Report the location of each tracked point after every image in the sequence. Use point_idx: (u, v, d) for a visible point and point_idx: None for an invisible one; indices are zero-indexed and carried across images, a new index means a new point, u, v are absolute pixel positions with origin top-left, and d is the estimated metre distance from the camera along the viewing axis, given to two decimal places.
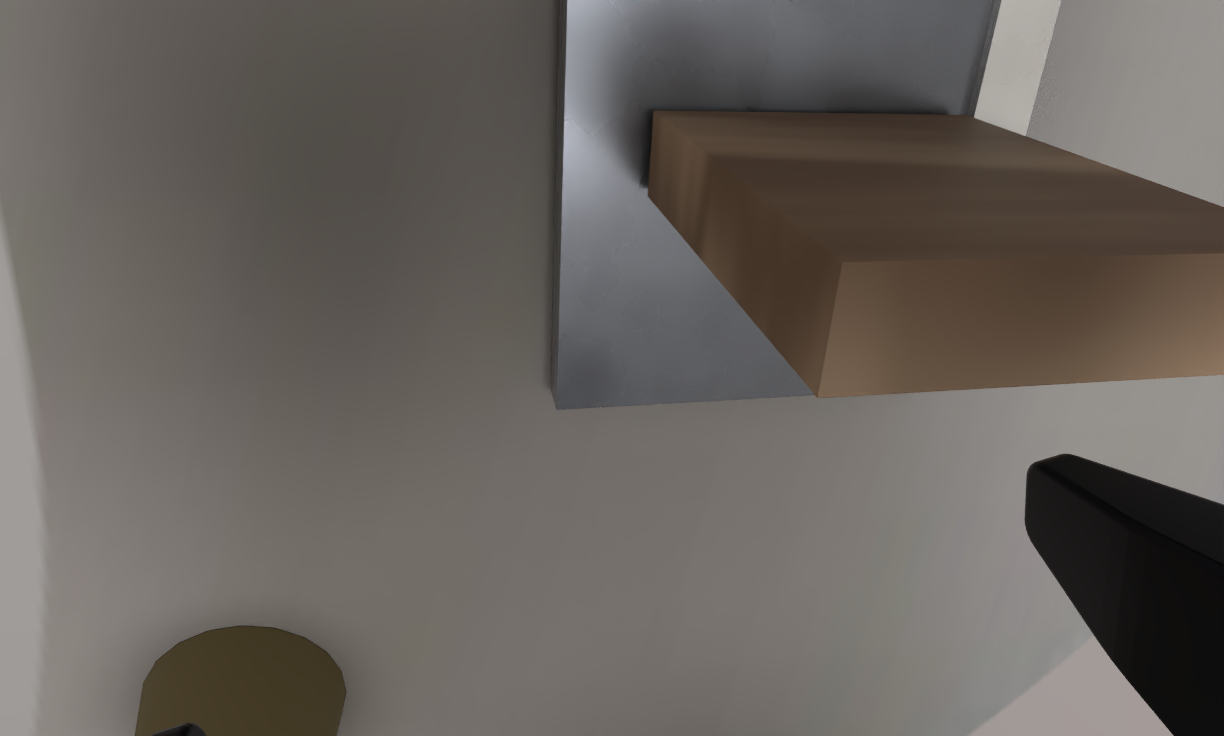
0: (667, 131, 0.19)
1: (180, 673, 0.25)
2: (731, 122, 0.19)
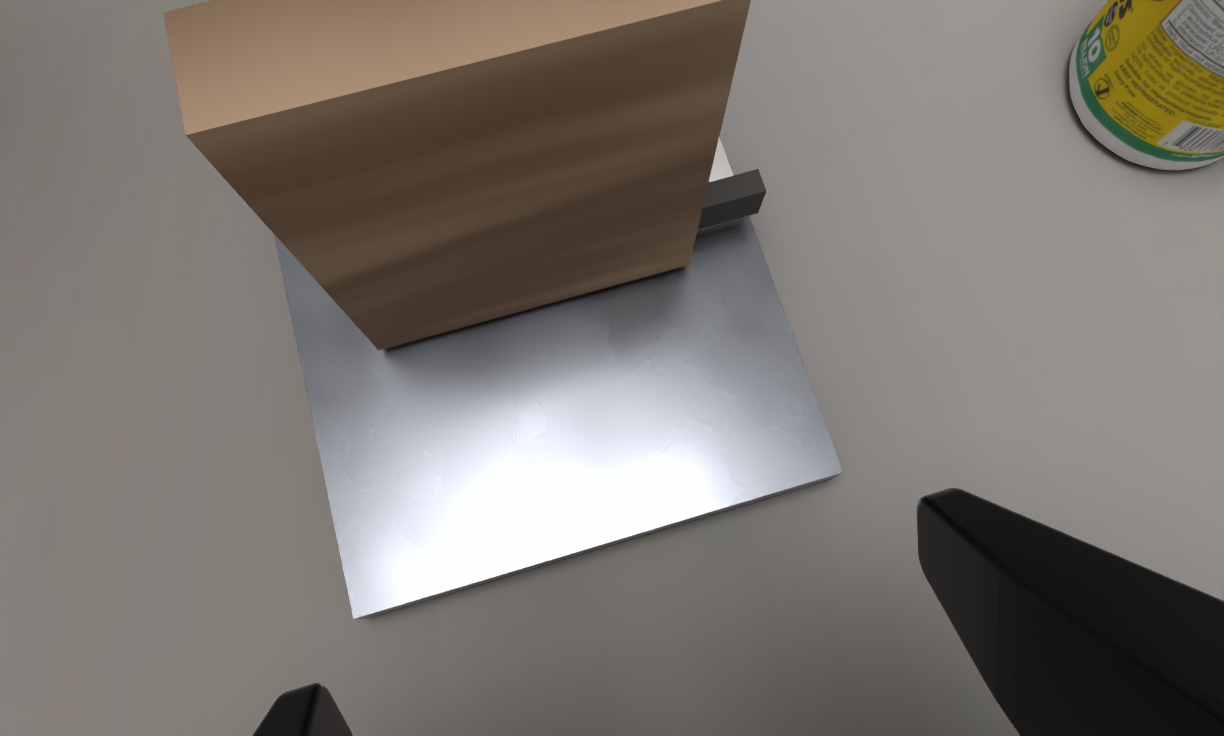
0: None
1: None
2: None
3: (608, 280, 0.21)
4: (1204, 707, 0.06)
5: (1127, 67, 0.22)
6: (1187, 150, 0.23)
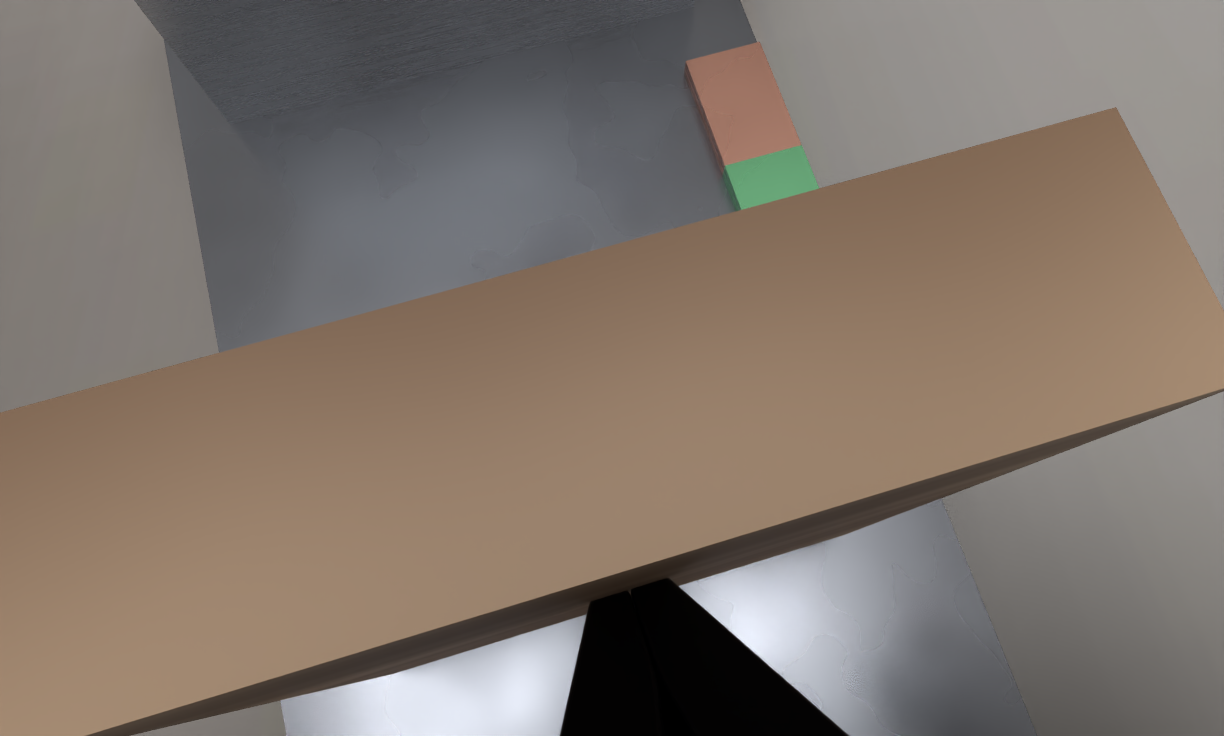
0: None
1: None
2: None
3: (731, 569, 0.14)
4: None
5: None
6: None
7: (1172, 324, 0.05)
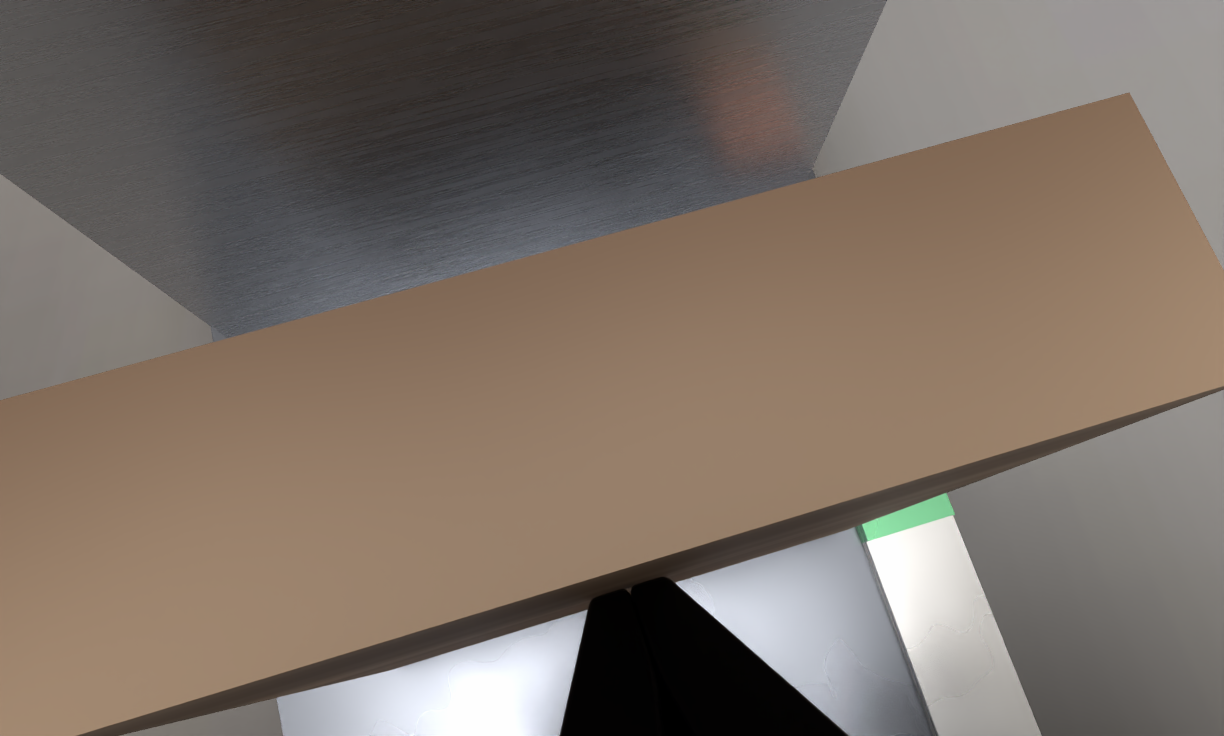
0: None
1: None
2: None
3: (731, 564, 0.14)
4: None
5: None
6: None
7: (1188, 315, 0.05)
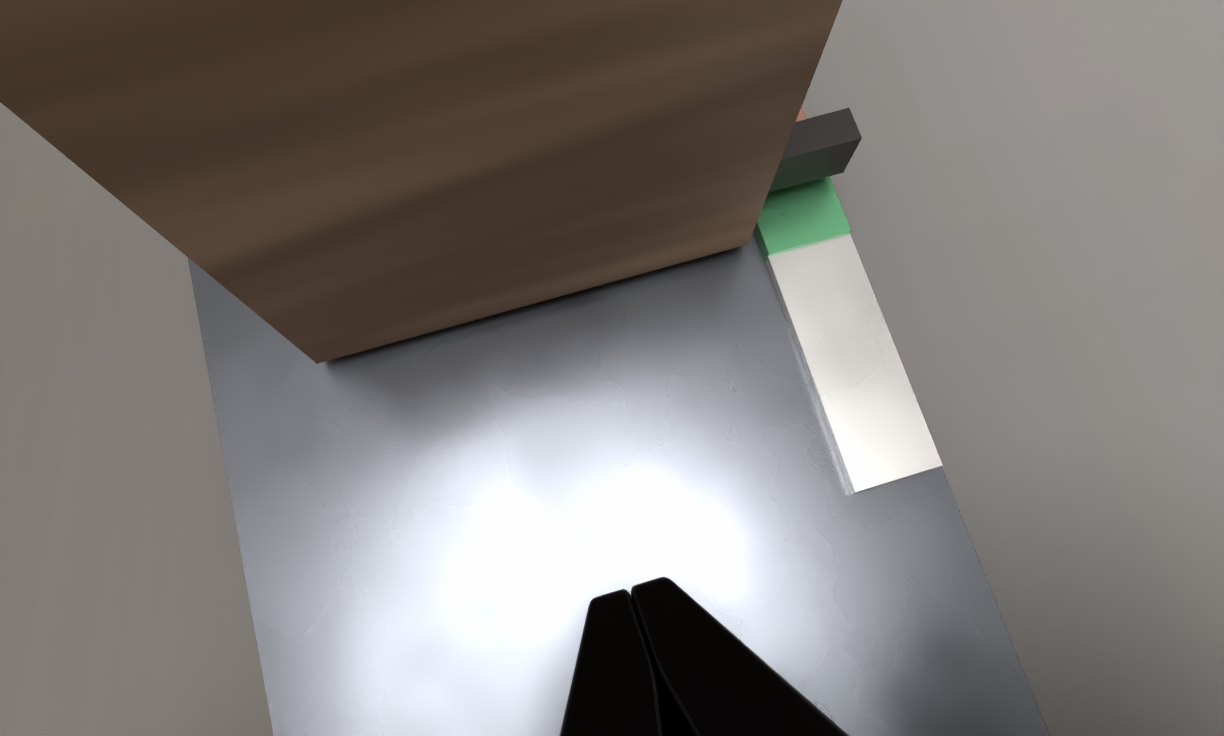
0: None
1: None
2: None
3: (637, 265, 0.15)
4: None
5: None
6: None
7: None
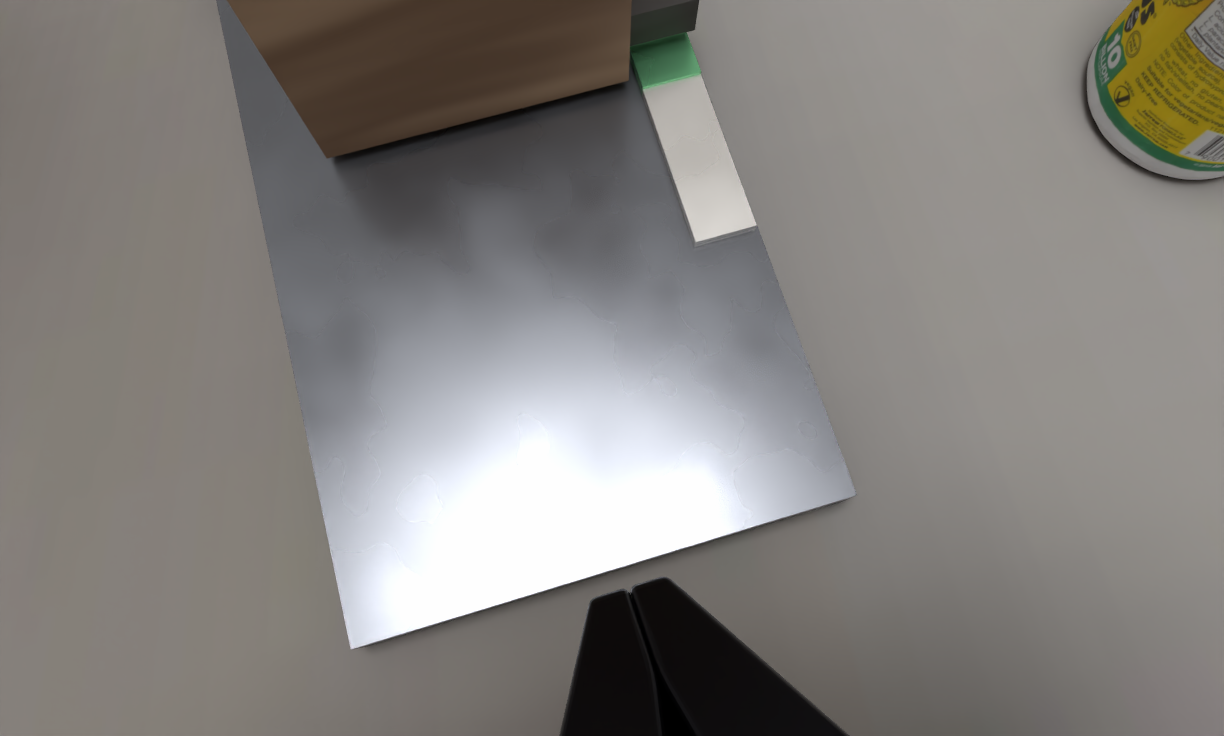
0: None
1: None
2: None
3: (548, 90, 0.22)
4: None
5: (1149, 74, 0.21)
6: (1210, 160, 0.22)
7: None
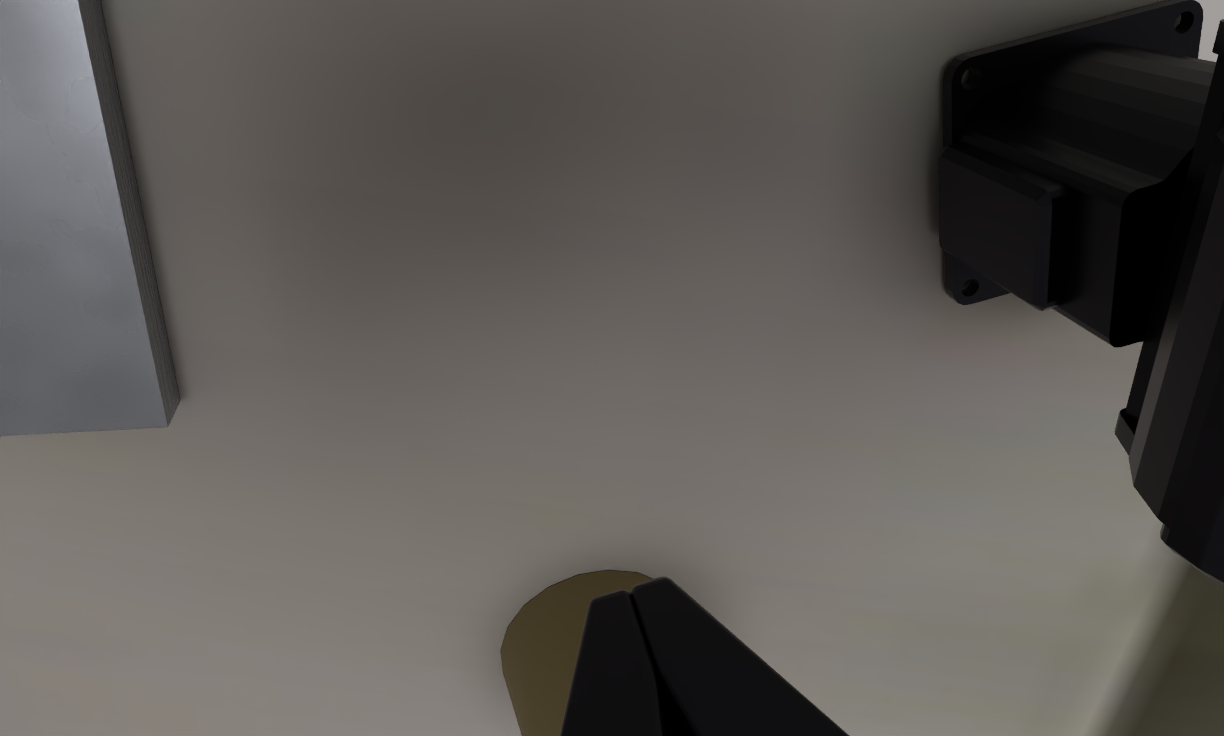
0: None
1: None
2: None
3: None
4: None
5: None
6: None
7: None
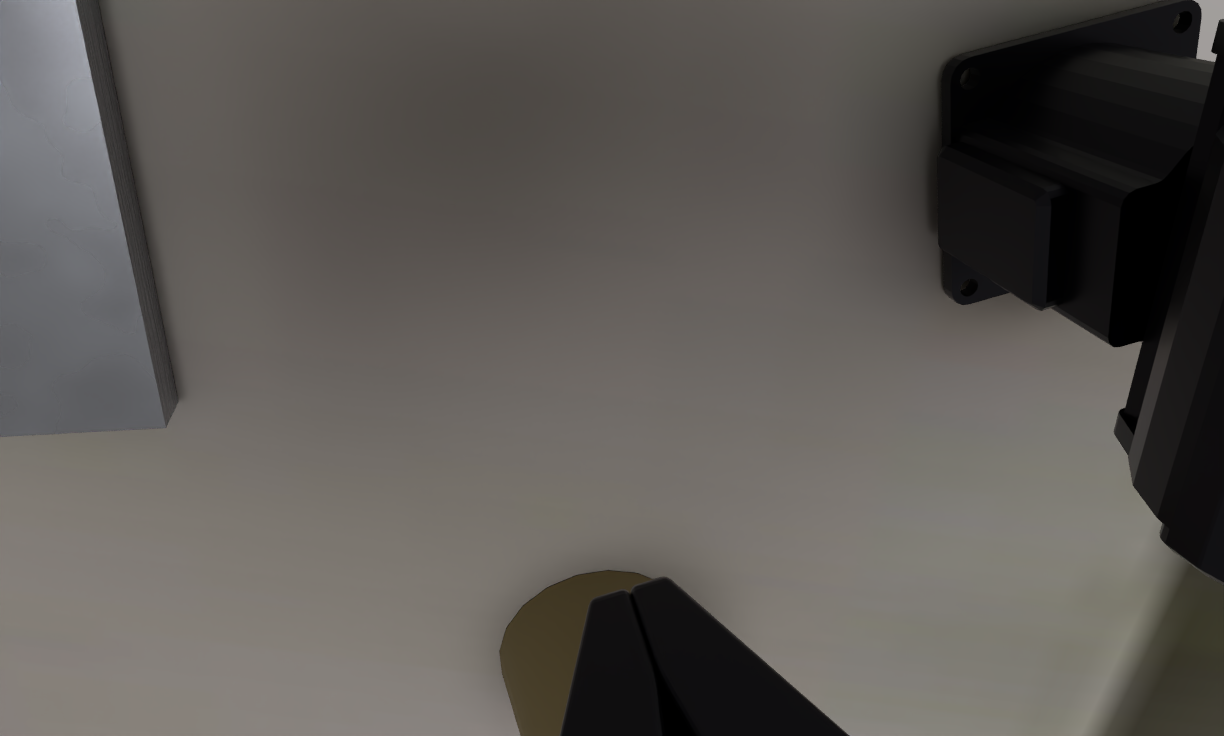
0: None
1: None
2: None
3: None
4: None
5: None
6: None
7: None
